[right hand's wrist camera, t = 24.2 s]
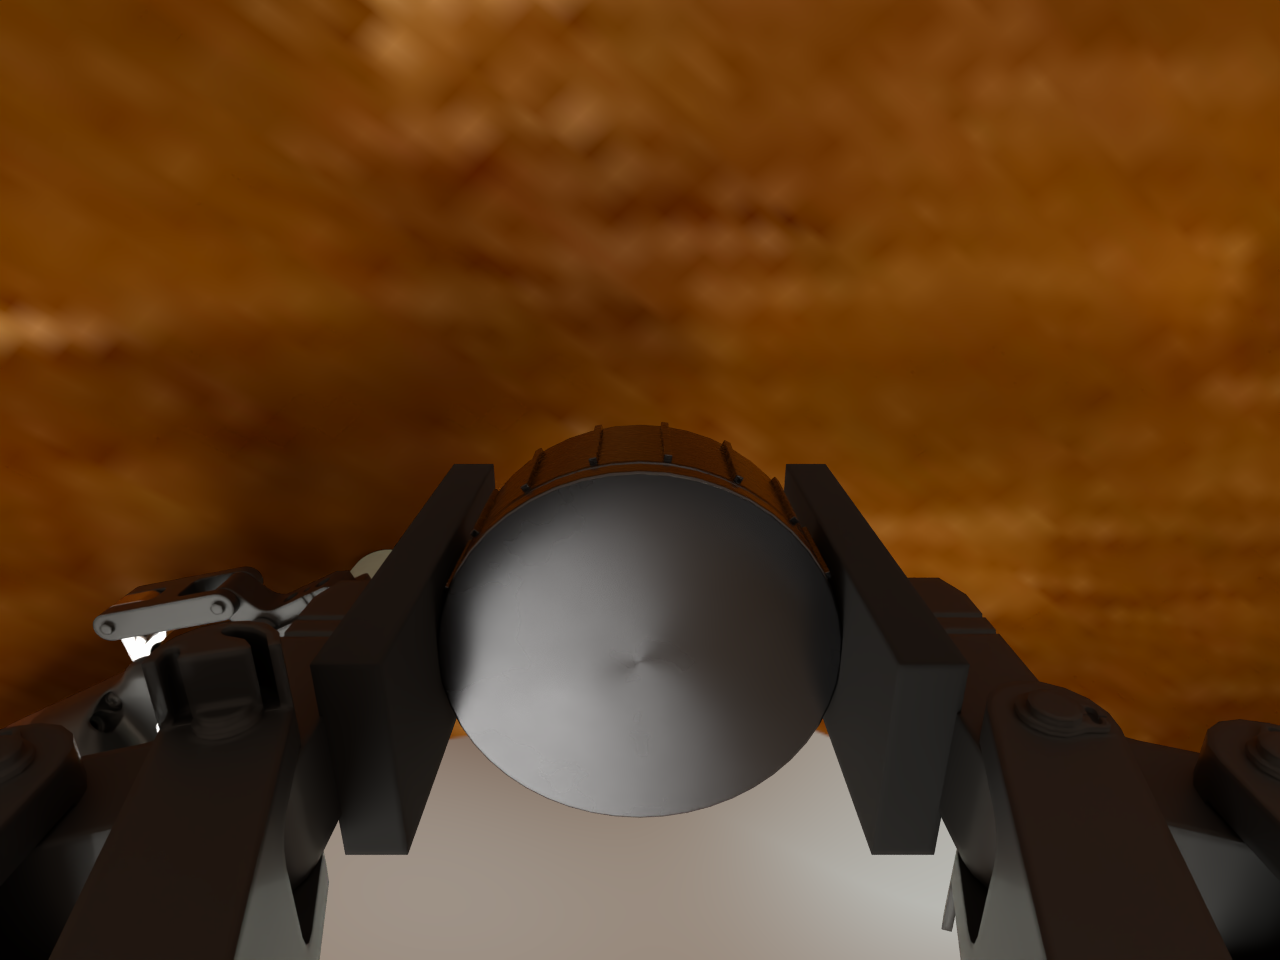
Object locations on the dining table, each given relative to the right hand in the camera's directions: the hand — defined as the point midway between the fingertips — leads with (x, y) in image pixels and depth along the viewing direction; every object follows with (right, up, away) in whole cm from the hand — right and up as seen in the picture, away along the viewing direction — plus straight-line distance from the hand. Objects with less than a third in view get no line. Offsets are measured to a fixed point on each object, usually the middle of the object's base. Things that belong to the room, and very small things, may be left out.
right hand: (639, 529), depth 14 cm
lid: (0, -1, -4) cm, 4 cm away
